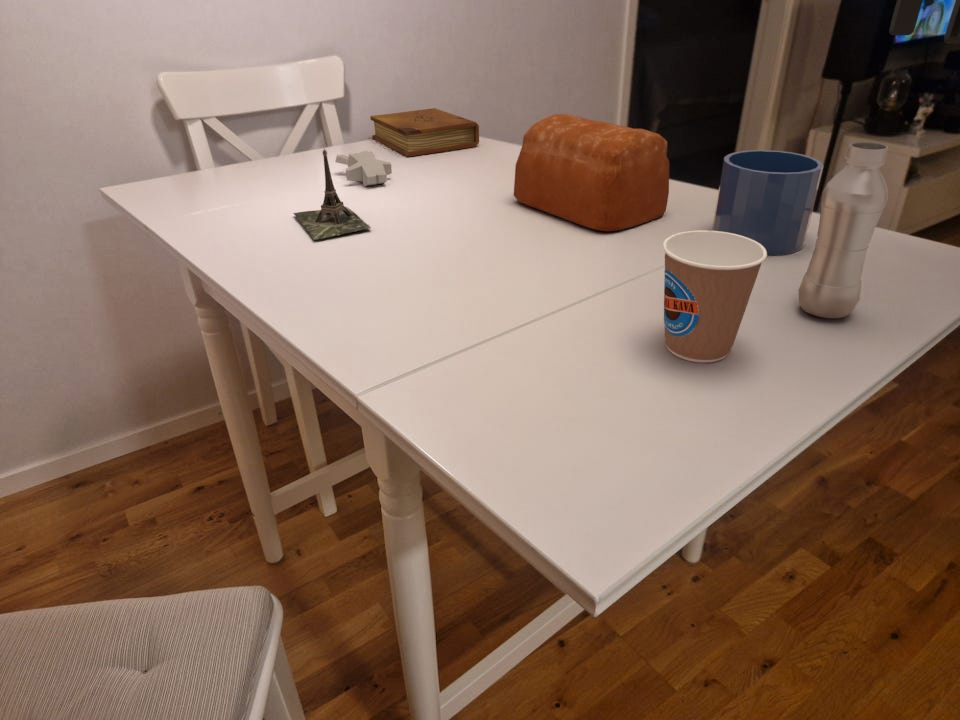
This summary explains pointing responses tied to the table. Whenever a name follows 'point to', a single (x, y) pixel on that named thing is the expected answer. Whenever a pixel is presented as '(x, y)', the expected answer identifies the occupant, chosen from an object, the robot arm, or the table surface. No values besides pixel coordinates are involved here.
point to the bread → (593, 172)
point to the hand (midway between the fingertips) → (926, 38)
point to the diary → (425, 131)
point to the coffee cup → (707, 291)
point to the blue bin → (768, 198)
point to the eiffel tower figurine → (330, 213)
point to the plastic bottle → (845, 232)
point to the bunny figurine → (365, 168)
